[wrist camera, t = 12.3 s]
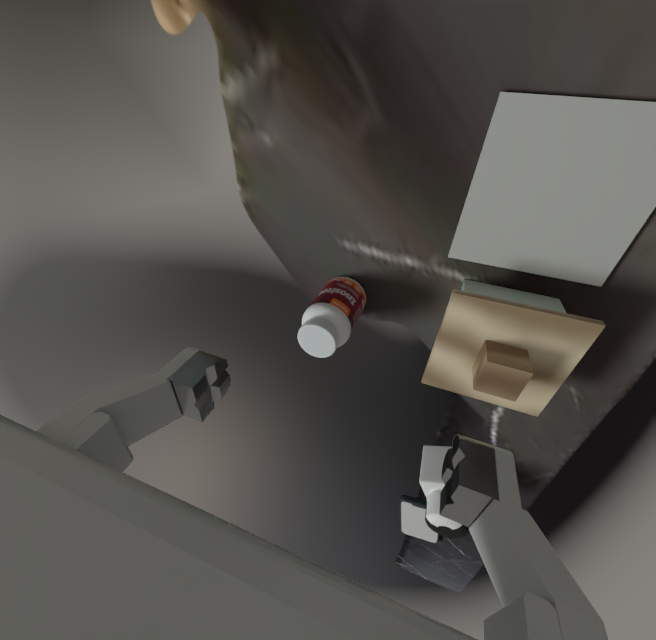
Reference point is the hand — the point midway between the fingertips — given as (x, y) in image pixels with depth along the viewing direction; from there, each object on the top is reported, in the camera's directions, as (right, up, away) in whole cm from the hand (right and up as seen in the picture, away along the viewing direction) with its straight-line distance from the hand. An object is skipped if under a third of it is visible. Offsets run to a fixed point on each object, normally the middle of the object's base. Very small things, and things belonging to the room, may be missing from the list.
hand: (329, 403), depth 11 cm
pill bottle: (+2, +6, +33) cm, 33 cm away
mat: (+21, +14, +18) cm, 32 cm away
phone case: (+21, -41, +59) cm, 75 cm away
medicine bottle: (+21, -21, +44) cm, 53 cm away
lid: (+18, -1, +23) cm, 29 cm away
